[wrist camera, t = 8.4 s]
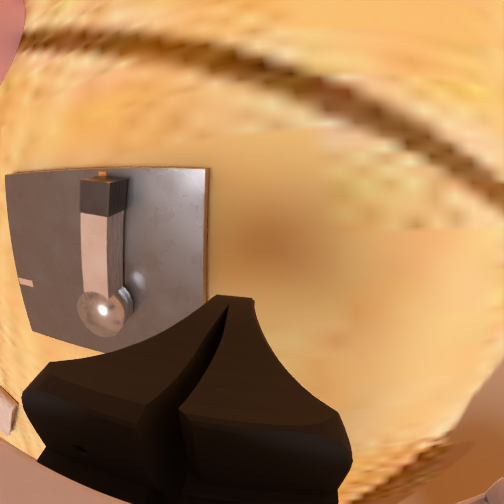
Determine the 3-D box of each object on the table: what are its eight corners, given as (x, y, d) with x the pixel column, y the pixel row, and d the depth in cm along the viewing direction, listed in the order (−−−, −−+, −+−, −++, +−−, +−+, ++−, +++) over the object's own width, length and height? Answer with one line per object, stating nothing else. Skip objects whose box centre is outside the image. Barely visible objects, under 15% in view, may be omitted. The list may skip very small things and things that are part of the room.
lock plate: (207, 365, 23) (204, 374, 22) (37, 325, 24) (31, 331, 23) (209, 168, 18) (204, 169, 17) (12, 173, 19) (4, 175, 18)
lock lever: (134, 326, 21) (121, 343, 19) (94, 314, 21) (80, 329, 19) (137, 179, 18) (120, 184, 16) (91, 174, 18) (71, 178, 16)
